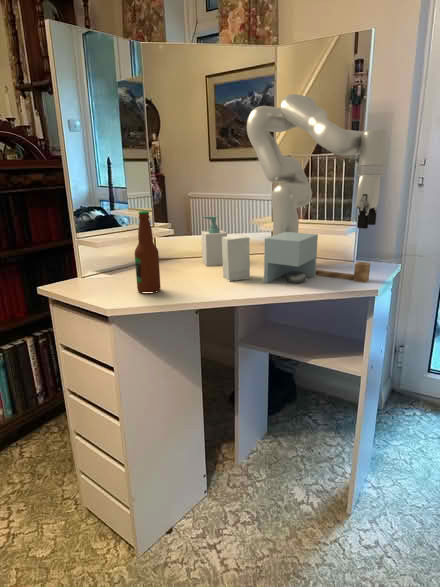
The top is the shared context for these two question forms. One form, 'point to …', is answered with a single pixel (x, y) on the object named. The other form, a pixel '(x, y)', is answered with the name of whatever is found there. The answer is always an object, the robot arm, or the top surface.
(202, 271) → the top surface
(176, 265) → the top surface
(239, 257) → the skincare box
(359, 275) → the brown piece
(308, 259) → the cabinet
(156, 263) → the bottle
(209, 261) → the soap bottle
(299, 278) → the puck
